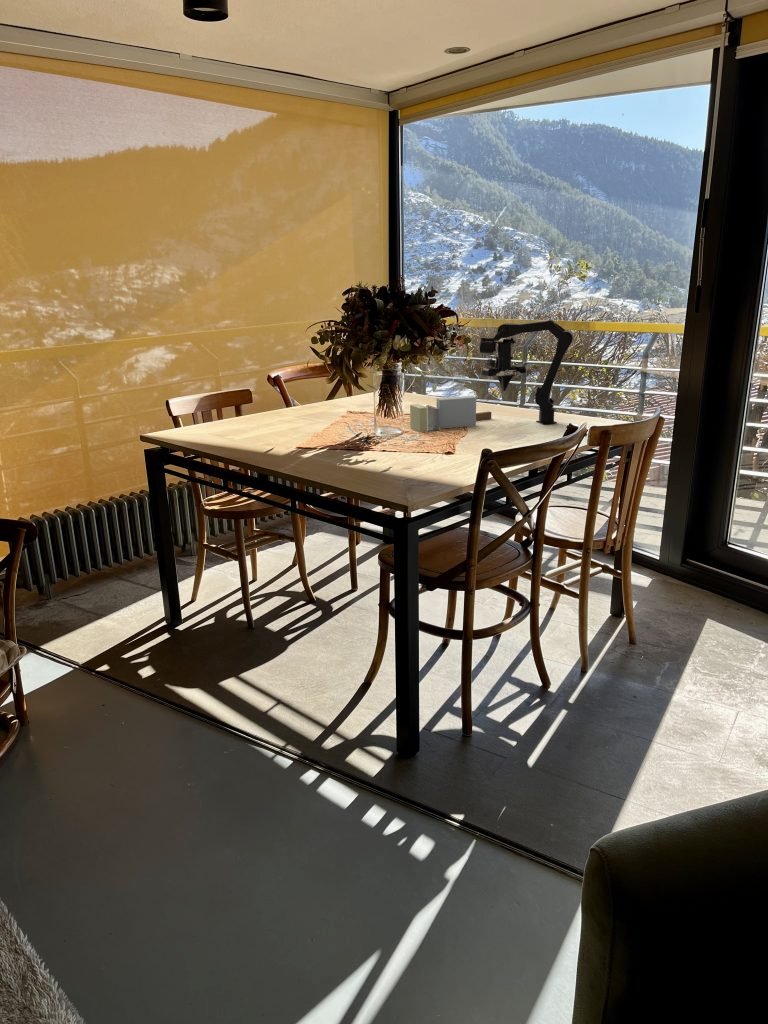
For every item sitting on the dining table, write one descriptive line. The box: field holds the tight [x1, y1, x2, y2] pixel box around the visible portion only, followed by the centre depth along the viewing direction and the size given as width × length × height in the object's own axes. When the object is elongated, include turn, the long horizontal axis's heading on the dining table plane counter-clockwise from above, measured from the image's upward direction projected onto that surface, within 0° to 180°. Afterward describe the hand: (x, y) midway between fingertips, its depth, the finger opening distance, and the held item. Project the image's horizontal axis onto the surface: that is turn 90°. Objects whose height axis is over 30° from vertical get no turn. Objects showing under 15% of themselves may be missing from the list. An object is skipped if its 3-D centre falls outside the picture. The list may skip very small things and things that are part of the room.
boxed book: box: [436, 395, 477, 429], centre depth 327 cm, size 16×5×12 cm, turn 103°
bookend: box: [425, 404, 440, 432], centre depth 322 cm, size 9×6×9 cm
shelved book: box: [409, 403, 429, 433], centre depth 321 cm, size 9×4×10 cm, turn 23°
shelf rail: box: [476, 410, 492, 422], centre depth 335 cm, size 2×30×3 cm, turn 114°
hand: (503, 390), depth 331 cm, fingers closed
